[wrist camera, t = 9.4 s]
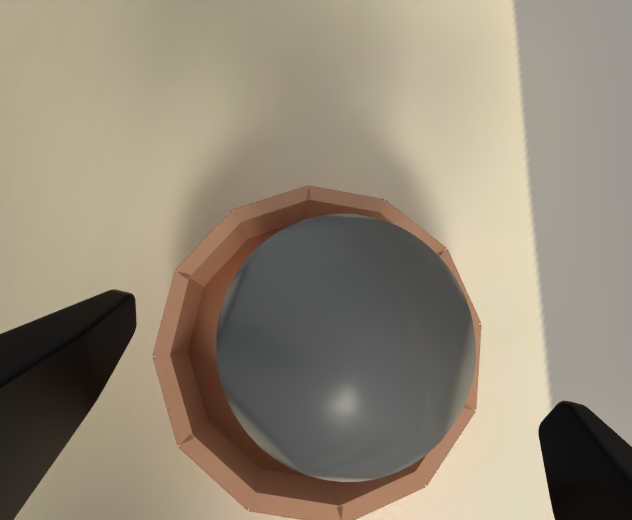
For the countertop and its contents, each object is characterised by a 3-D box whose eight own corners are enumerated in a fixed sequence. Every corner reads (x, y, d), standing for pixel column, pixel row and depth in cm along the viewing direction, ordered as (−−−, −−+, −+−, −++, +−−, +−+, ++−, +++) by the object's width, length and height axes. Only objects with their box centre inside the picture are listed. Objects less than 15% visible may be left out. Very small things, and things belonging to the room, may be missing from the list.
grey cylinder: (400, 369, 17) (524, 397, 8) (289, 431, 16) (287, 539, 7) (344, 261, 17) (397, 176, 9) (235, 313, 17) (174, 277, 8)
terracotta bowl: (490, 323, 18) (536, 318, 15) (336, 547, 16) (349, 604, 12) (300, 172, 19) (302, 135, 16) (127, 359, 17) (86, 363, 13)
